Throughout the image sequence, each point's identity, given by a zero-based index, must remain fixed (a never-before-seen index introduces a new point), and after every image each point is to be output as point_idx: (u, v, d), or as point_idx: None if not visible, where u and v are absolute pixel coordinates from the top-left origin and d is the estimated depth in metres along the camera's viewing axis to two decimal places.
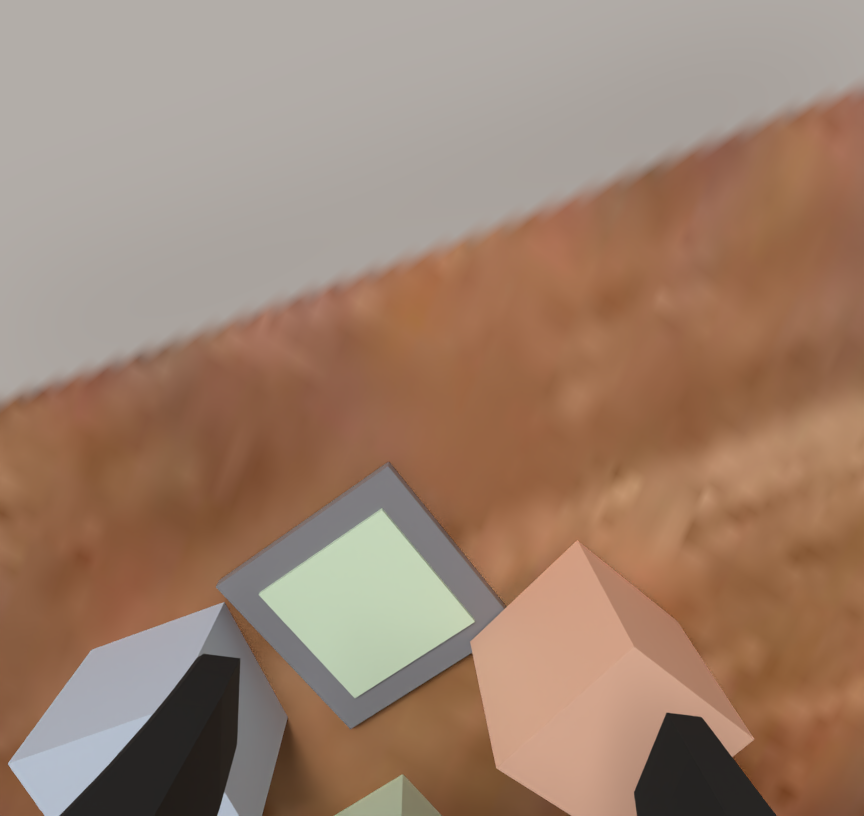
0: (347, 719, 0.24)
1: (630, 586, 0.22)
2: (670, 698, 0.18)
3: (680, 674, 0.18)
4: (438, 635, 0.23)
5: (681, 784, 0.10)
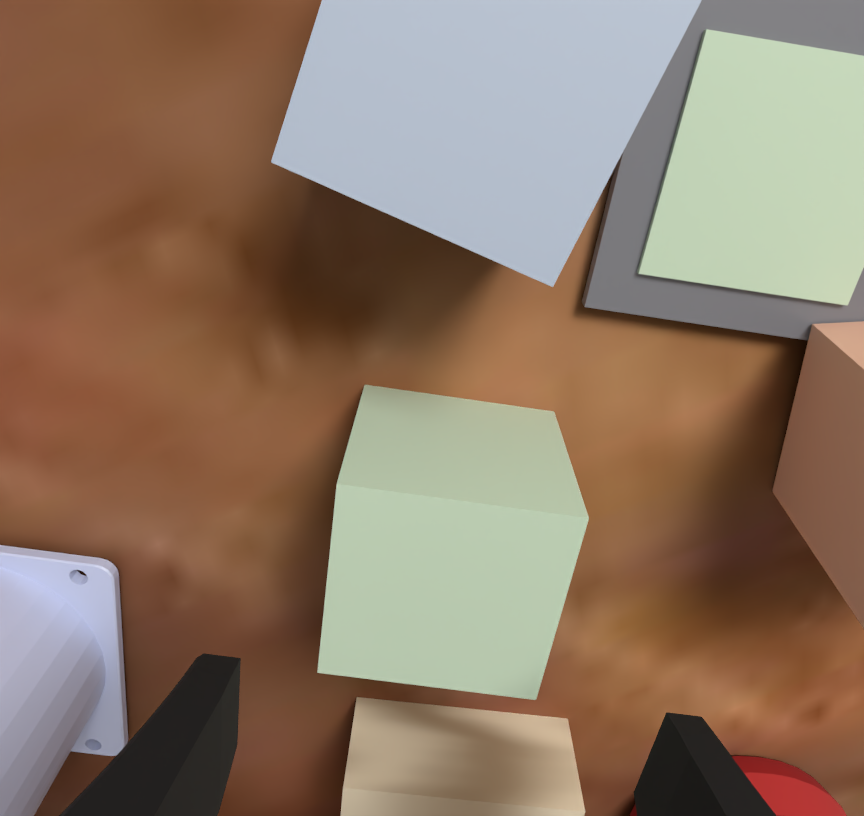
0: (595, 292, 0.16)
1: None
2: None
3: None
4: (800, 285, 0.16)
5: (681, 784, 0.10)
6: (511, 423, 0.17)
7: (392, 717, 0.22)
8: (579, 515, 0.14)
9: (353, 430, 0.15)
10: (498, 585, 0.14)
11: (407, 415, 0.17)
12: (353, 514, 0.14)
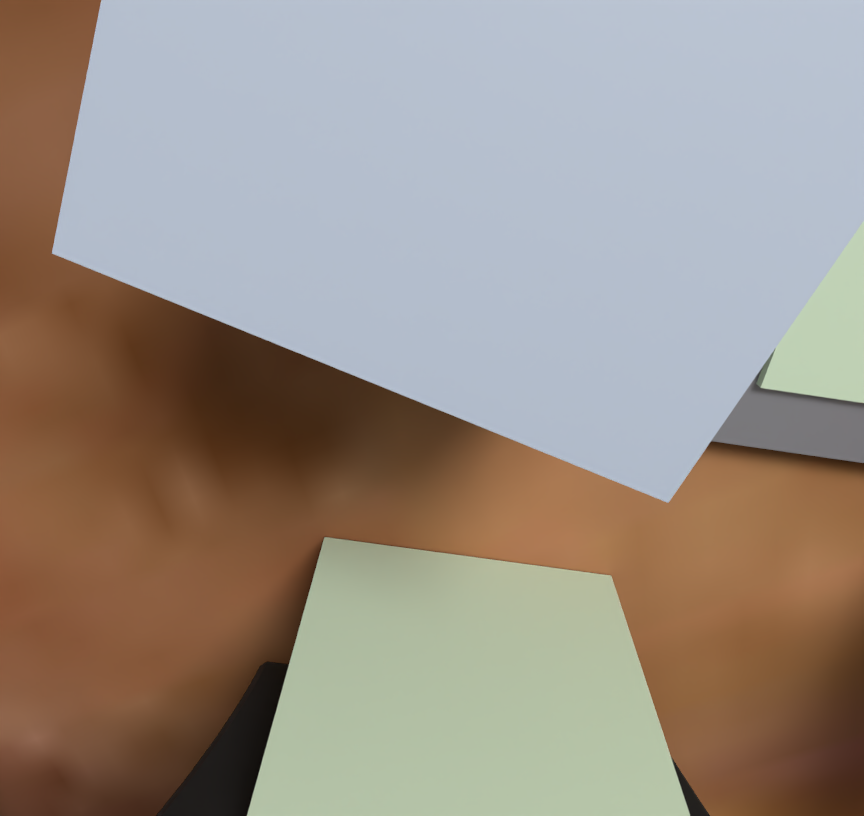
0: None
1: None
2: None
3: None
4: None
5: None
6: (550, 613, 0.11)
7: None
8: None
9: (294, 655, 0.09)
10: None
11: (386, 608, 0.10)
12: None
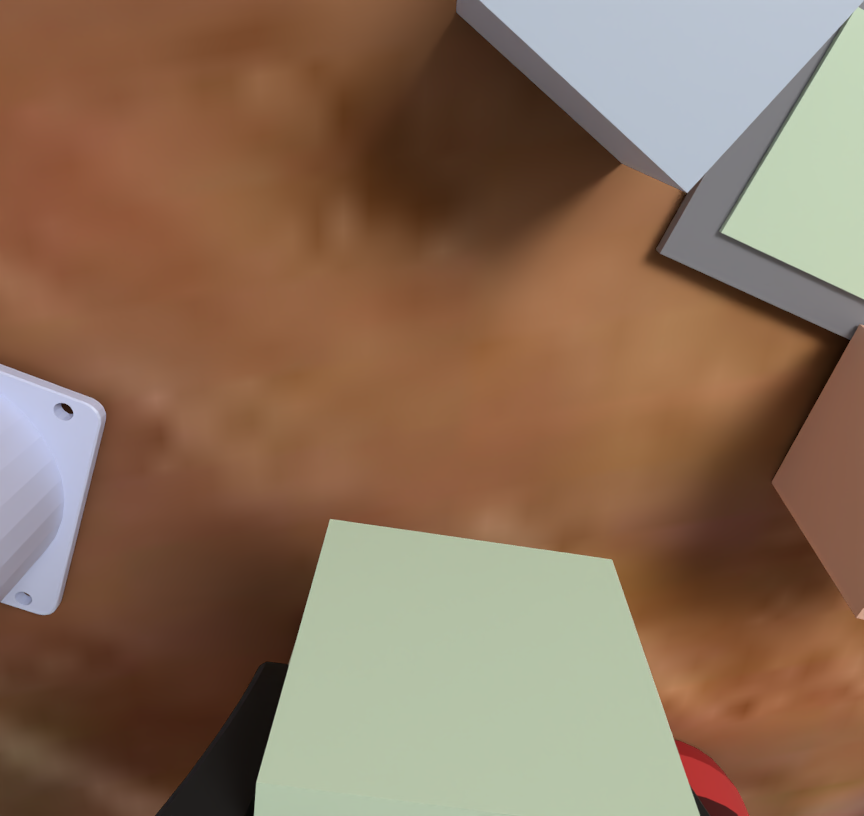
0: (674, 241, 0.16)
1: None
2: None
3: None
4: (861, 283, 0.17)
5: None
6: (552, 594, 0.11)
7: None
8: None
9: (301, 630, 0.09)
10: None
11: (390, 587, 0.11)
12: None
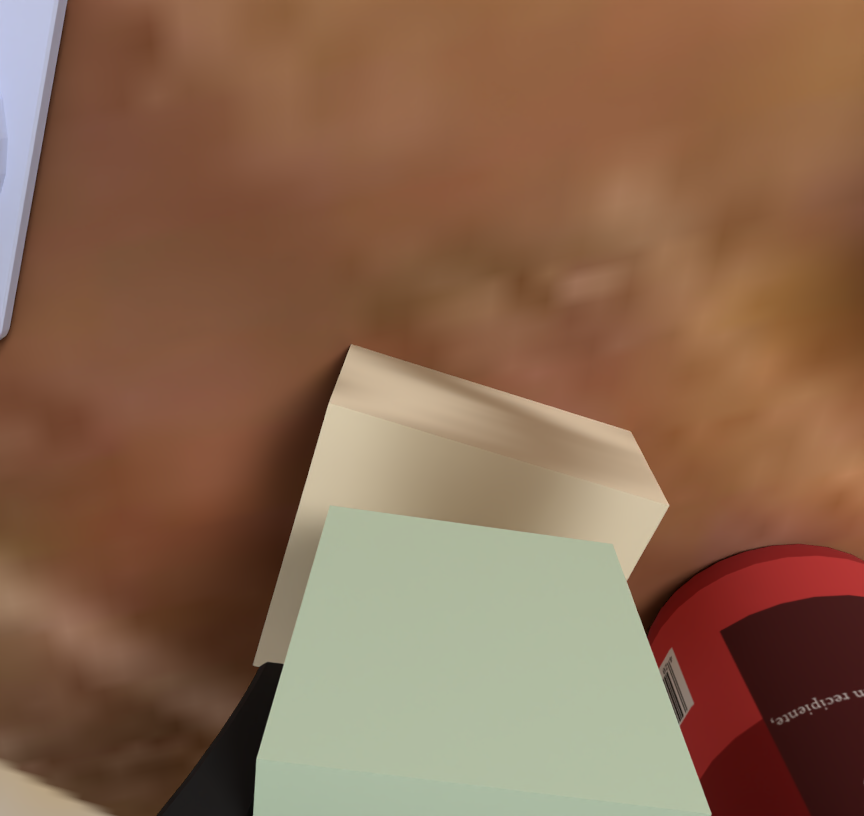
0: None
1: None
2: None
3: None
4: None
5: None
6: (553, 577, 0.11)
7: (400, 370, 0.15)
8: (694, 807, 0.08)
9: (301, 612, 0.09)
10: None
11: (391, 571, 0.11)
12: (289, 803, 0.08)
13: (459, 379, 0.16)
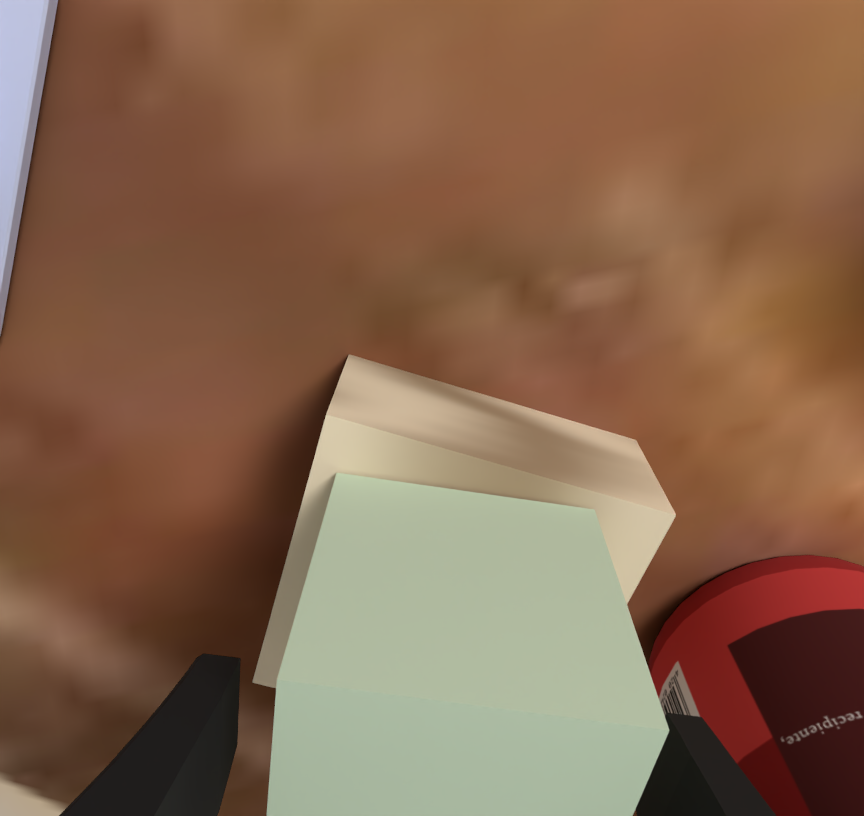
0: None
1: None
2: None
3: None
4: None
5: (681, 784, 0.10)
6: (538, 537, 0.12)
7: (399, 380, 0.15)
8: (654, 725, 0.09)
9: (313, 562, 0.11)
10: (525, 813, 0.10)
11: (393, 529, 0.12)
12: (304, 720, 0.09)
13: (459, 388, 0.16)
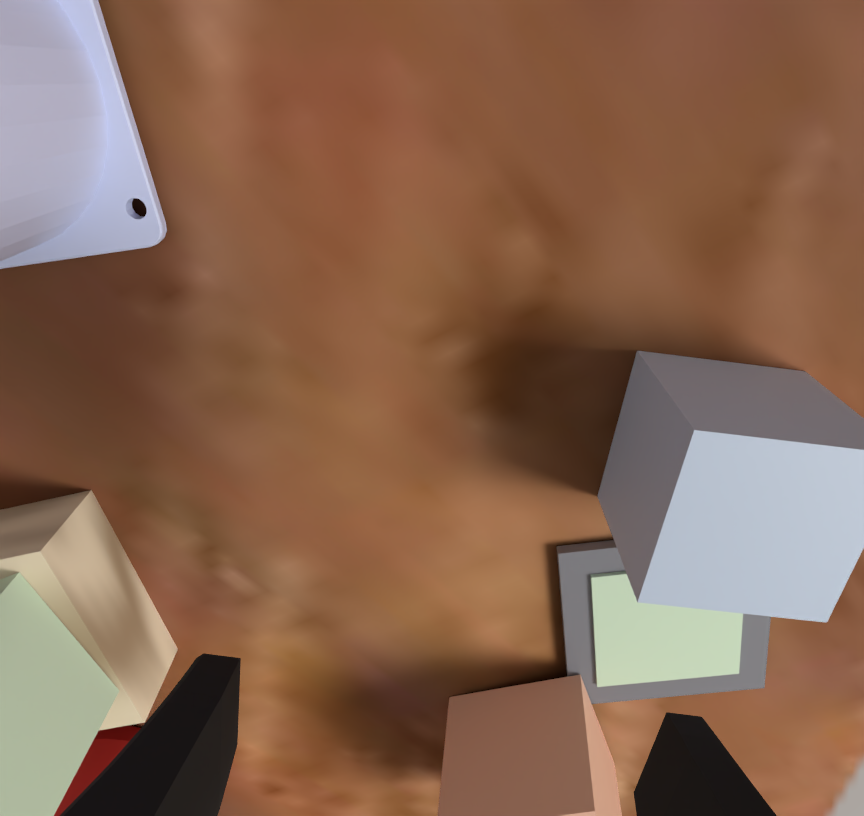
0: (570, 556, 0.22)
1: None
2: None
3: None
4: (604, 660, 0.24)
5: (681, 784, 0.10)
6: (78, 694, 0.20)
7: (100, 531, 0.22)
8: None
9: None
10: None
11: (15, 642, 0.19)
12: None
13: None
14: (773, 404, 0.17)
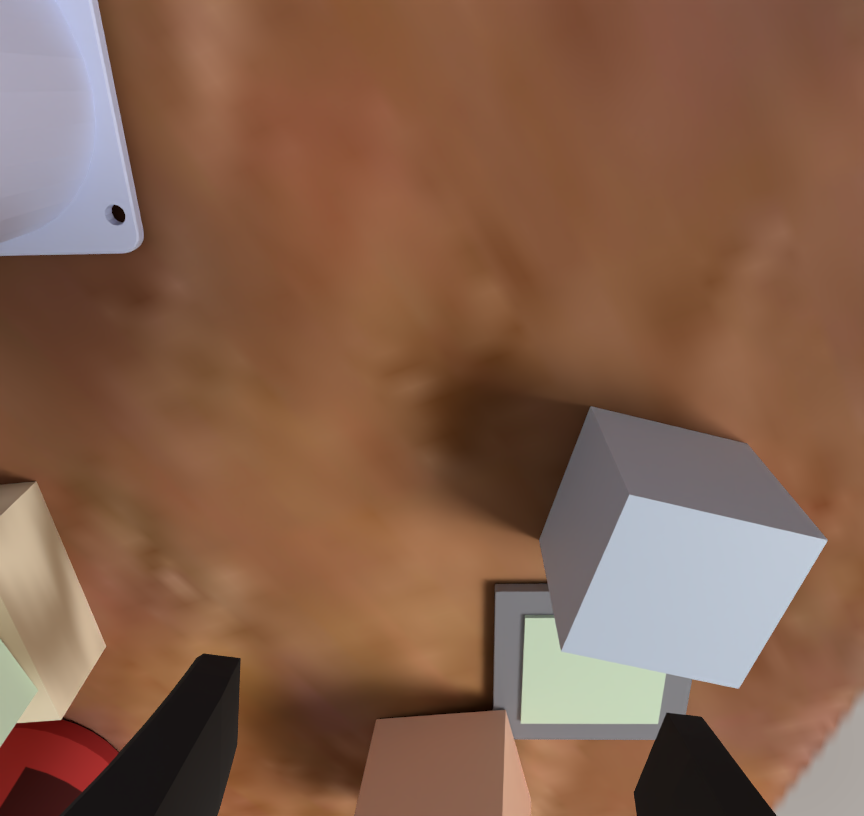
0: (506, 595, 0.23)
1: None
2: None
3: None
4: (530, 698, 0.25)
5: (681, 784, 0.10)
6: None
7: (39, 524, 0.22)
8: None
9: None
10: None
11: None
12: None
13: (63, 549, 0.23)
14: (709, 475, 0.18)
